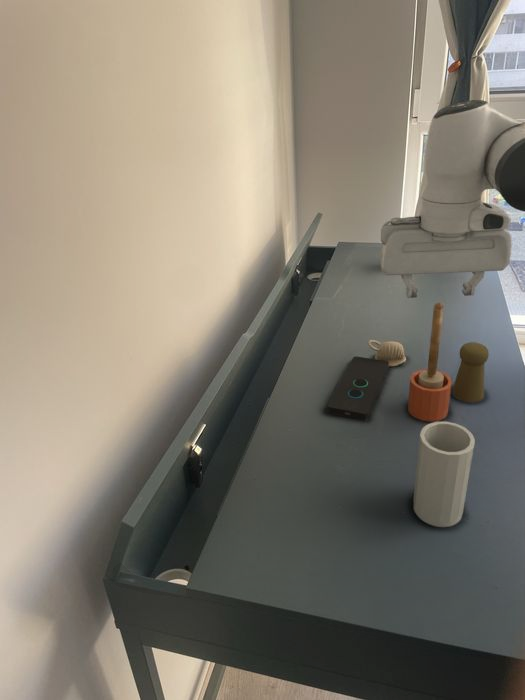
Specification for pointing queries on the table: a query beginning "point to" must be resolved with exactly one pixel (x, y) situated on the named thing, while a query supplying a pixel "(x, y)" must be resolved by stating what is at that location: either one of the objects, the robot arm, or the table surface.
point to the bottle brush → (433, 353)
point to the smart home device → (358, 388)
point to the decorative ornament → (389, 352)
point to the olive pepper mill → (471, 373)
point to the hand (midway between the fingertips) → (439, 295)
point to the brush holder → (429, 399)
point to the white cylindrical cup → (442, 473)
